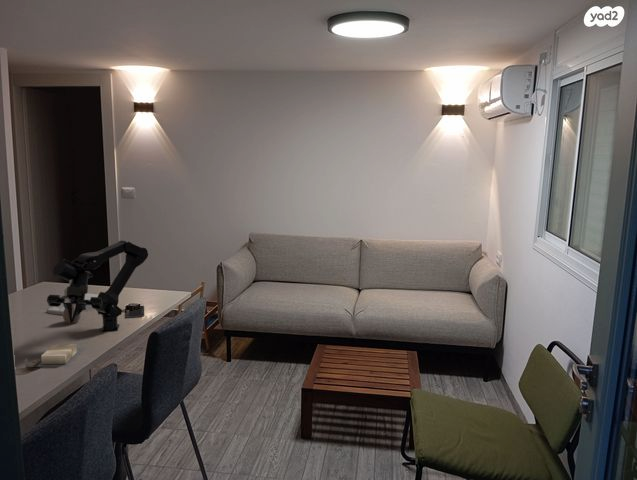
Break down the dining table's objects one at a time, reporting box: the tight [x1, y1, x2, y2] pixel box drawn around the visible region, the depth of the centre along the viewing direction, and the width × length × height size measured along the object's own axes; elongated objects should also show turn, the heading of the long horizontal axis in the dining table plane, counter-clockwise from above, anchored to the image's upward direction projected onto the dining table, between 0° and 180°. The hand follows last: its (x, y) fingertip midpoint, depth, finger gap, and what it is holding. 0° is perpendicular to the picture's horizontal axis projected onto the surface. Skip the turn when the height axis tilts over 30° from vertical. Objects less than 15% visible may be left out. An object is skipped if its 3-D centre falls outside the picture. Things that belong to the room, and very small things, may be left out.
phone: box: [125, 305, 145, 319], centre depth 230 cm, size 8×1×15 cm
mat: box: [35, 347, 87, 368], centre depth 180 cm, size 16×11×1 cm
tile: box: [41, 343, 78, 364], centre depth 178 cm, size 3×8×10 cm
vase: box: [62, 304, 82, 325], centre depth 215 cm, size 7×7×9 cm
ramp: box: [46, 292, 99, 316], centre depth 233 cm, size 28×16×5 cm, turn 121°
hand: (71, 323), depth 185 cm, fingers closed
